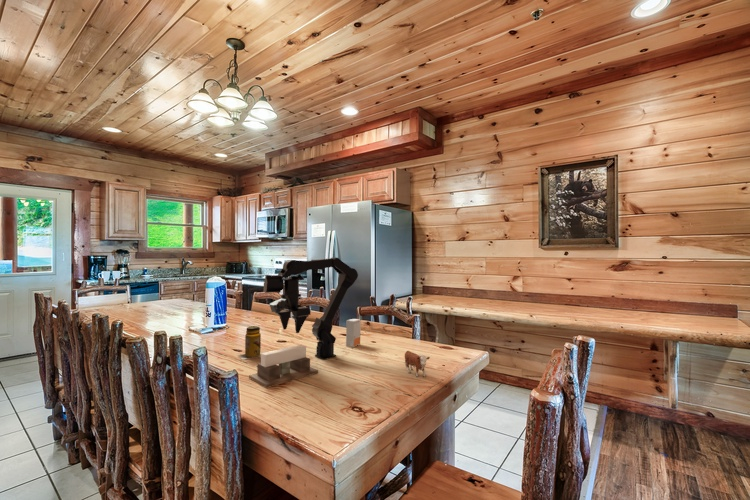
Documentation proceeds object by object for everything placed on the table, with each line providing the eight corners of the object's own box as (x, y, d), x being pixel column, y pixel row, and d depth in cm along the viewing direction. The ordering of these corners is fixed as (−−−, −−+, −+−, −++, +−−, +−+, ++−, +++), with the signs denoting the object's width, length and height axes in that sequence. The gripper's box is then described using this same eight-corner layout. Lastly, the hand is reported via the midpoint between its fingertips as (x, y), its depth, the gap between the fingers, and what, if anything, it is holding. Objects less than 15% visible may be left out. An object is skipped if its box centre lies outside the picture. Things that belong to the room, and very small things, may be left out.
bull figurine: (422, 382, 116) (422, 357, 116) (402, 369, 128) (402, 347, 128) (432, 380, 118) (433, 356, 118) (412, 368, 130) (412, 346, 130)
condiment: (263, 356, 143) (263, 327, 143) (241, 360, 138) (242, 330, 139) (258, 352, 149) (258, 324, 149) (237, 355, 144) (238, 327, 145)
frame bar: (301, 355, 128) (301, 344, 128) (306, 357, 126) (306, 346, 126) (260, 365, 117) (260, 353, 117) (265, 367, 115) (265, 355, 115)
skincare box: (353, 347, 158) (353, 321, 158) (345, 346, 160) (346, 320, 160) (360, 344, 163) (361, 319, 163) (353, 343, 165) (353, 318, 166)
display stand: (299, 365, 133) (299, 352, 133) (317, 372, 124) (318, 358, 124) (249, 378, 118) (249, 363, 118) (266, 387, 110) (266, 372, 110)
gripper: (261, 291, 138) (260, 330, 138) (285, 295, 125) (285, 338, 125) (285, 289, 146) (285, 326, 146) (311, 293, 133) (311, 333, 133)
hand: (291, 331), depth 137 cm, fingers open, 9 cm apart
